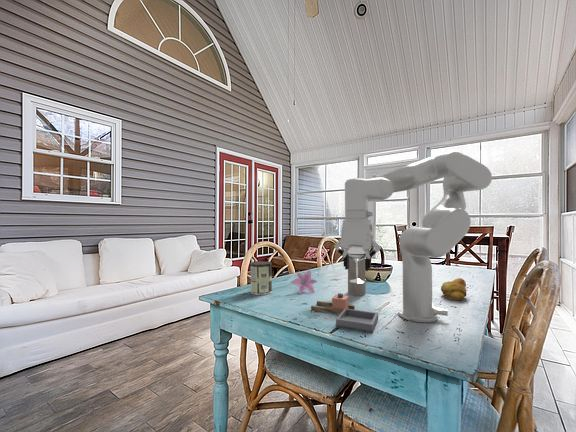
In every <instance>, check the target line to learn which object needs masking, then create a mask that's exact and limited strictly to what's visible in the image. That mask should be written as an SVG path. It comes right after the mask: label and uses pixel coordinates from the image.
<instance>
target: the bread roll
mask: <svg viewBox="0 0 576 432" xmlns="http://www.w3.org/2000/svg"><path fill="white" fill-rule="evenodd" d="M466 287H467V284H466V281H465V280H464V279H463V278H460V277H459V278H455V279H453V280H452V281H451V280H450V281H446V282H445V281H444V282H443V283H442V285H441V286H440V291H441V293H442V294H443V296H444V297H445V298H448V299H451V300H453V301H463V300H464V299H465V298H466V297H467V288H466Z"/></svg>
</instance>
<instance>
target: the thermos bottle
mask: <svg viewBox="0 0 576 432" xmlns="http://www.w3.org/2000/svg"><path fill="white" fill-rule="evenodd" d="M365 259H366V257H365V258H364V259H362V260H360V262H358V279H360V280H363V281H365V282H364V283H353V282H350V280H353V279H357V277H356V262H354V260H352V259H350V258H349V269H347V294H349V295H352V296H364V295H366V294H367V293H366V291H367V290H366V271H365Z"/></svg>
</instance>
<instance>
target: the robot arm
mask: <svg viewBox="0 0 576 432" xmlns="http://www.w3.org/2000/svg"><path fill="white" fill-rule="evenodd" d="M439 179H443V180H442V187H443V196H442V199H440V200H439V202H437V204H436V205H434V207H432V208H431V209H430V210H429V211H428V212H427V213H425V215H424V217H423V218H422V221H421V227H418V226H415V227H414V226H412V227H409V228H406V229H404V230H403V231H402V232H401V234H400V236H399V243H398V244H399V248H400V253H401V260H402V262H401V263H402V308H400V309H399V310H398V315H399V317H401V318H402V319H404V320H406V321H407V320H408V321H410V322H415V323H433V322H436V321H437V320H438V315H441V316H444V317H448V316H449V315H448V309H444V308H443V307H442V308H441V307H436V306H435V305H434V303H433V267H432V262H431V258H437V259H438V258H441V257H444V256H445V255H447V254H448V253H449V252H450V251H451V250H452V249H453V248H454V247H455V246H456V245H457V244H458V243H459V242H460V241H461V240H462V239H463V238H464V237H465V236H466V235H467V234H468V232H469V230H470V227H471V223H472V222H471V217H470V214H469V213H468V212H467V211H466V208H467V203H466V200H465V199H466V198H465V194H464V192H473V191H481V190H484V189H487V188H488V187H489V186H490V184H491V183H492V180H493V176H492V172H491V170H490V169H489V168H488V167H487V165H484V164H483V163H481V162H480V161H477V160H476V159H473V158H472V157H470V156H469V155H466V154H464V153H462V152H459V151H455V150H451V151H447V152H444V153H440V154H436V155H432V156H429V157H426V158H424V159H422V160H419V161H417V162H413V163H410V164H408V165H405V166H402V167H400V168H397V169H395V170H393V171H390V172H387V173H384V174H381V175H379V176H376V177H373V178H368V179H365V178H362V177H361V178H357V177H356V178H350V179H346V180H345V183H344V219H343V220H342V225H341V226H342V227H341V231H340V233H341V234H340V239H339V240H338V241H337V242H336V243H335V244H334V246H333V247H334V249H335V250H336V251H337V252H338V253H339V254H340V255H341V257H342V258H343V267H344V270H347V271H348V269H349V257H348V255H347V249H349V247H348V246H363V248H362V249H363V250H365V252H366V253H365V254H366V257H365V272H368V271H369V270H370V269H371V268H372V260H371V259H372V258H373V256H375V255H376V253H378V252H379V251H380V250H381V249H382V247H381V245H380V244H379V243H377V241H375V239H374V235H373V234H374V233H373V224H372V220H371V219H369V218H370V217H373V215H374V214H373V212H372V211H369V202H379V201H380V202H381V201H386V200H387V199H389V198H390V197H391V196H392V195H393V194H394V193H397V192H398V193H399V192H406V191H410V190H413V189H416V188H419V187H422V186H424V185H426V184H429V183H431V182H434V181H437V180H439ZM373 247H374V249H373ZM371 249H373V250H372V251H371Z"/></svg>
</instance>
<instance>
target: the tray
mask: <svg viewBox="0 0 576 432" xmlns="http://www.w3.org/2000/svg"><path fill="white" fill-rule="evenodd" d="M378 322H379V312H374V311H365V310H359V309H354V310H353V309H344V310H343V311H342V312H341V314H338V316H337V317H336V318H335V326H336V328H339V329H346V330H352V331H358V332H366V333H372V334H373V333H374V331H375V329H376V326H377V324H378Z"/></svg>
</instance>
